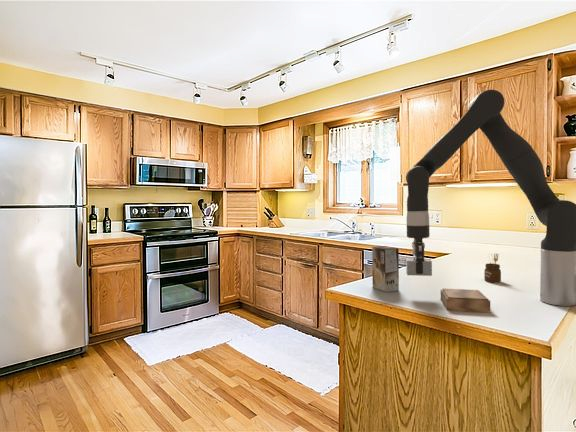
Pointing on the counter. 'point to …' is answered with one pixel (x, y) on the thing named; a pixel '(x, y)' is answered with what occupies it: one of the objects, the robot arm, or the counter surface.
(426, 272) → the block
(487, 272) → the utensil holder
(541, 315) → the counter surface
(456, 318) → the counter surface
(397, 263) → the coffee box
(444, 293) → the walnut stand
